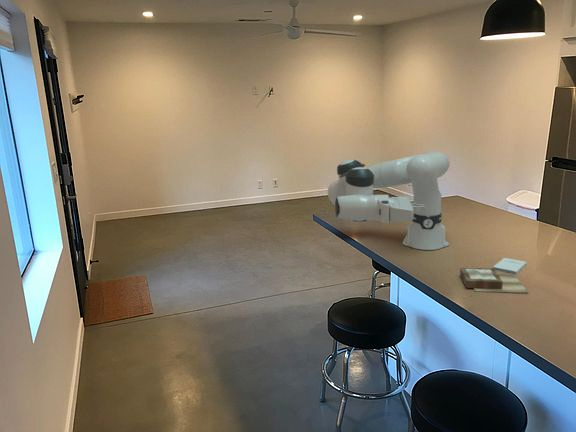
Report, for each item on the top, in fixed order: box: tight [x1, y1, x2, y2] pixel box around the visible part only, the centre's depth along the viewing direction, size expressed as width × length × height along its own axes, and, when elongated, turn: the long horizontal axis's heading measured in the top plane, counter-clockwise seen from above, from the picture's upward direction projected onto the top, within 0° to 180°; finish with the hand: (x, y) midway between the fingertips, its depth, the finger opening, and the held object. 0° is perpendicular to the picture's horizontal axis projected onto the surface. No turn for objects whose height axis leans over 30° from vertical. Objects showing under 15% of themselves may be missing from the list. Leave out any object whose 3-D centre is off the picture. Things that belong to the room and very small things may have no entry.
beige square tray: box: [472, 273, 529, 295], centre depth 157 cm, size 16×16×1 cm
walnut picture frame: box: [459, 267, 503, 289], centre depth 158 cm, size 12×3×11 cm
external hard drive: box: [491, 257, 528, 275], centre depth 171 cm, size 2×8×12 cm
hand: (425, 208), depth 155 cm, fingers closed
